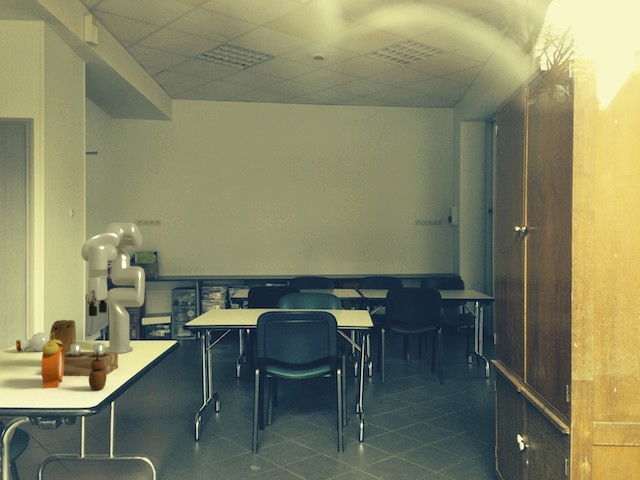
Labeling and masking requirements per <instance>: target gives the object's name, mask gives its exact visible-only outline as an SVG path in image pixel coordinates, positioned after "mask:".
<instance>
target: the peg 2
mask: <svg viewBox="0 0 640 480" xmlns="http://www.w3.org/2000/svg"><path fill="white" fill-rule="evenodd" d="M97 349H98V357H103V356H104V352H105V343H104V342H99V343H94V344H93V352H94V357H96V355H97Z"/></svg>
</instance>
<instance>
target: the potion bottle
mask: <svg viewBox="0 0 640 480" xmlns="http://www.w3.org/2000/svg"><path fill="white" fill-rule="evenodd" d="M48 341H50V335H48V334H47V333H46V332H37V333H34V334H33V335H32V337H31V338H30V339H25V338H21V339H20V340H19V339H17V340H16V341H15V345H16V351H17V352H18V353H20V352H22V353H24V352H25V351H26V350H28V349H32V350H33V351H34V352H37V353H38V352H39V353H43V351H42V349H43V346H44V345H45V344H47V342H48Z"/></svg>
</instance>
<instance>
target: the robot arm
mask: <svg viewBox="0 0 640 480" xmlns="http://www.w3.org/2000/svg"><path fill="white" fill-rule="evenodd" d="M142 244H143V236H142V233H141V231H140V229H139V227H138V226H137V224H135V223H133V222H124V221H123V222H120V221H119V222H111V223H109V224H108V225H107V226H106V227H105V228H104V230H103V232H102V233H100V234H97V235H94V236H92V237H89V238H88V239H87V240H86V241H85V242H84V243H83V245H82V248H81V252H80V254H81V258H82V260H84V261H86V262H88V268H87V269H88V270H87V271H88V274H87V275H88V281H87V290H86V291H87V292H86V300H87V303H88V316H89V317H97V316H98V313H102V314H103V313H105V314H107V312H108V316H109V318H108V322H109V324H108V325H109V326H108V327H109V329H108V333H109V334H108V337H109V339H108V340H109V341H108V343H109V345H108V348H106V349H105V352H118V354H126V353H130V352H132V351H133V350H134V348H133V347H132V346H130V344H131V339H130V314H129V312H128V311H127V309H126V308H135V307H136V308H138V307H139V308H140V307H142V306H143V305H144V303H145V290H146V289H145V286H146V285H145V283H146V274H145V273H146V272H145V269H144V268H143V267H141V266H131V258H130V254H129V253H128V252H127V251H126V249H138V248H140V247H141V246H142ZM109 262H111V275H110V276H111V278H110V279H111V282H112V284H113V285H115V286H134V287H114V288H111V289H109V290H108V281H107V278H108V272H109V271H108V265H109V264H108V263H109ZM98 302H99V303H98ZM97 304H98V306H97ZM107 305H108V306H107ZM107 307H108V308H107Z"/></svg>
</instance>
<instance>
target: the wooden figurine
mask: <svg viewBox="0 0 640 480" xmlns="http://www.w3.org/2000/svg"><path fill="white" fill-rule="evenodd" d="M91 368H92V369H93V370H92V371H91V372H90V375H89V376H88V384H89V387H90V389H91V390H92V391H101V390H103V389H104V388H105V386H106V383H107V375H106V372H105V370H104V369H103V368H104V361H103V360H101V359H99V357H98V349H97V355H96V360H93V361H92V363H91Z"/></svg>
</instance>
